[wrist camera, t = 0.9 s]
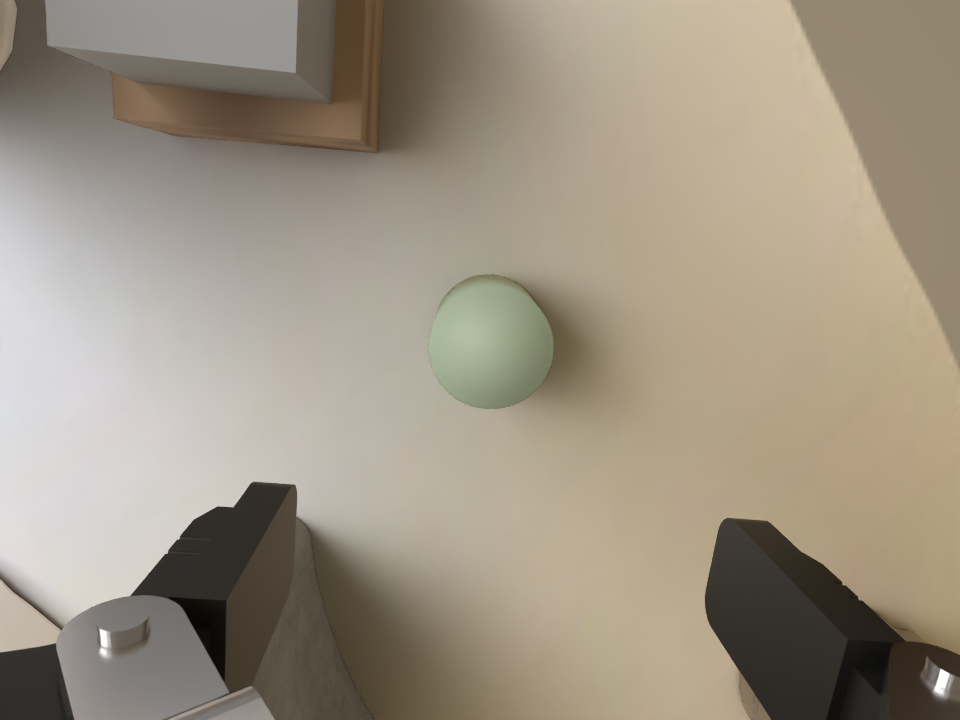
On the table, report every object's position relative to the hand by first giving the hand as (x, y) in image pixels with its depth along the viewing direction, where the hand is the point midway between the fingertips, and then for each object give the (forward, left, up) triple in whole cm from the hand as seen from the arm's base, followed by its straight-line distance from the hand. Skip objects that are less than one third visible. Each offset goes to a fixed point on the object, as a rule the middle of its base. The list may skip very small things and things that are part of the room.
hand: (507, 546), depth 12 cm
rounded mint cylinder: (0, -1, -19) cm, 19 cm away
